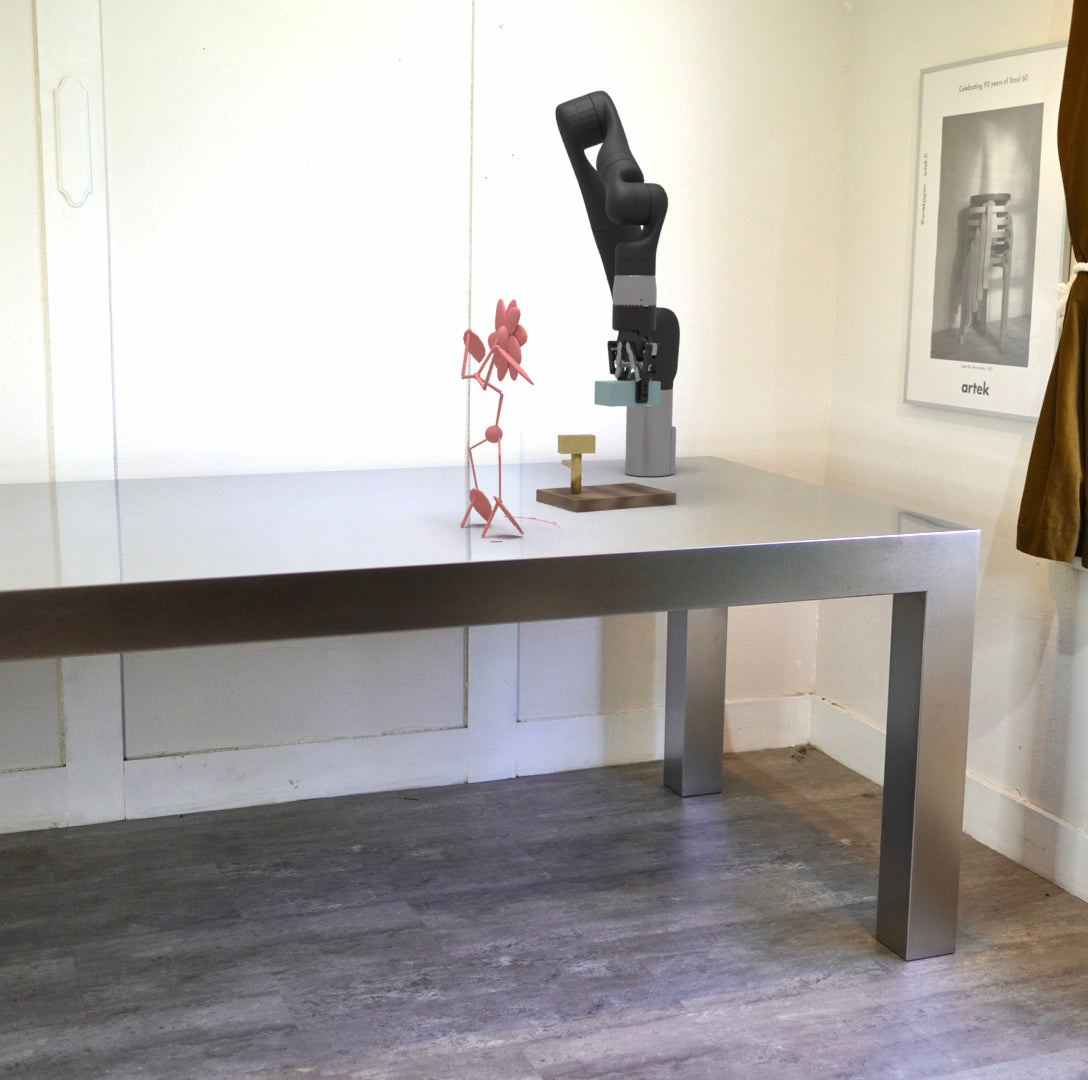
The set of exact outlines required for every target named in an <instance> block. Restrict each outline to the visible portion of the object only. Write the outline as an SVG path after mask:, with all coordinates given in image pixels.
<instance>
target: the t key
mask: <svg viewBox="0 0 1088 1080" xmlns="http://www.w3.org/2000/svg"><path fill="white" fill-rule="evenodd" d="M596 438H597V437H596V435H594V434H590V433H589V434H587V433H586V434H558V435H557V453H558V454H560V455H570V458H571V459H561V465H562V466H565V467H566V468H567V467H568V468H570V487H571V493H581V486H582V470H583V468H582V466H583V465H582V464H583V463H582V461H583V459H582V457H583V456H582V455H584V454H596Z"/></svg>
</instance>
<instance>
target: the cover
mask: <svg viewBox="0 0 1088 1080" xmlns="http://www.w3.org/2000/svg"><path fill="white" fill-rule="evenodd" d="M636 382H638V381H637V380H617V379H615V380H594V405H597V406H605V407H612V408H613V407H627V406H642V405H660V386H661V382H659V381H649V390H648V402H647V403H641V404H639V403H636V402H635V387H636Z"/></svg>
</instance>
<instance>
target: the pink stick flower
mask: <svg viewBox="0 0 1088 1080" xmlns="http://www.w3.org/2000/svg"><path fill="white" fill-rule="evenodd" d="M517 305H518V303H517V300H516V299H515V298H514V299H513V298H512V300H510V301H509V303H508V306H507V308H506V307H505V303H504V300H503V298H499V299H498V301H497V303H496V307H495V308H496V309H495V318H494V330H495V331H492V332H491V333H490V334H489V335H488V337H487V345H488V348H489V352H488V354H487V355H486V347H485V345H484V342H483V340H482V339H481V338H480V336H479V334H476V332H474V331H473V330H472V328H467V329H466V331H464V333H463V337H462V340H463V345H464V352H463V353H464V354H463V360H462V367H461V380H467V379H468V380H469V379H474V380H476V381H477V383H478V385H480V387H481V388H482V390H483V391H484V392H485V391H487V388H488V387H489V388H491V389H492V390H493V391H495V393H497V394H499V399H498V405H497V412H496V419H495V424H493V425H489V426H488V427H487V428H486V429H485V431H484V437H485V438H484V439H483V440H481V441H480V442H478V443H476V444H474V445H472V446H471V447H469V448H468V454H469V459H470V464H471V470H472V471H471V472H472V476H473V480H474V485H475V487H473V488H472V489H470V490H469V501H470V503H469V505H468V508H467V510H466V512H465V514H464V516H463V519H462V521H461V523H460V525H459V527H461V528H464V526H465V525H466V522H467V521H468V518H469V515H470V514H471V511H472V509H473V508H474V510H475V512H476V513H478V515H480V516H481V518H482V519H483V520H484V521H485V522H486V524H485V526H484V528H483V530H482V533H481V534H480V536H481V537H482V538H485V537H486V534H487V532H488V530H489V527H490V526H491V524H492V521H493V519H494V517H495V515H496V512H497V510H498V508H500V510H501V511H502V512H503V514H504V518H507V519H508V520H509V522H511V524H512V525H513V526H514V527H515V529H517V530H518V531H519V533H520V534H521V535H522V536H523V535H525V532H524V530H522V528H521V526H520V525H519V523H518V522H517V520H516V518H517V519H527V520H534V521H541V522H544V523H549V524H552V525H554V526H557V527H558V528H559V529H561V527H560V526H559V525H558V524H557V522H555V521H553V522H551V521H548V520H544V519H538V518H535V517H528V516H527V517H521V516H513V515H512V514H511V512H510V511H509V510H508V508H507V507H506V506H505V505H504V502H503V500H502V451H501V449H502V448H501V447H502V446H501V440H502V439H503V432H504V431H503V430H502V429H501V428H500V426H499V420H500V416H501V411H502V405H503V402H504V401H503V400H504V393H502V392H503V391H502V390H501V389H499V388H497V387H496V386H495V385H493V384H491V383H490V377H491V376H492V375H491V374H492V373H493V368H494V367H495V368H496V377H497V380H498V382H503V380H504V379H505V377H506V375H507V373H509V376H510V379H512V381H513V382H514V381H517V379H518V375H520V376H521V377H522V378H523V379H524V380H526V381H527V382H528V383H529V384H530V385H531V386H534V385H535V383H534V381H533V380H532V379H531V378H530V376H529V375H528V373H527V372H526V371H525V370H524V369H523V368H522V367H521V363H522V358H523V357H522V349H521V347H523V346H524V345H526V343H527V342H528V338H529V337H528V332H527V330H526V328H525V327H524V326H523V325H522V324H520V319H521V315H522V314H521V308H519V307H518V306H517ZM468 354H469V355H471V357H473V359H474V360H475V361H476V362H477V363H478V364H480V363H481V362H482V364H481V366H480V367H479V369H478V370H477V371H476V372H474V373H473V374H467V375H466V368H467V362H468ZM485 356H486V357H485ZM490 358H491V360H490ZM489 360H490V364H489V367H488V371H487V374H486V377H485V379H484V378H482V377H481V373H482V372H483V370H484V368H485V367H486V365H487V363H488V361H489ZM508 371H509V372H508ZM485 442H490V443H491V444H497V447H498V449H497V450H498V454H497V455H498V497H497V496H496V495H493V496H492V498H493V499H494V501H495V504H494V507H492V504H491V502H490V499H488V497H487V495H485V493H484V492H483V491H482V490H480V489H479V487H478V481H477V480H478V479H477V475H476V471H475V465H474V464H475V463H474V460H473V454H472V450H473V449H474V448H476V447H478V446H480V445H481V444H484V443H485ZM490 543H503V540H498V541H497V540H495V541H490Z"/></svg>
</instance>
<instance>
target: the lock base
mask: <svg viewBox="0 0 1088 1080" xmlns="http://www.w3.org/2000/svg"><path fill="white" fill-rule="evenodd" d="M535 490H536V491H535V492H536V493H535V500H536V502H540V503H542V504H543V503H544V504H547V505H550V506H554V507H556V508H559V509H564V510H566V511H570V512H574V513H586V512H595V511H608V510H623V509H631V508H632V509H636V508H646V507H649V508H650V507H658V506H660V507H661V506H670V505H672V506H673V505H677V492H673V491H669V490H665V489H662V488H658V487H652V486H648V485H644V484H641V483H635V482H625V483H624V482H622V483H621V482H619V483H609V484H608V483H607V484H606V483H605V484H596V485H595V484H593V485H583V486H582V485H581V493H571V486H566V487H554V488H553V487H551V488H540V489H539V488H537V489H535Z"/></svg>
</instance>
